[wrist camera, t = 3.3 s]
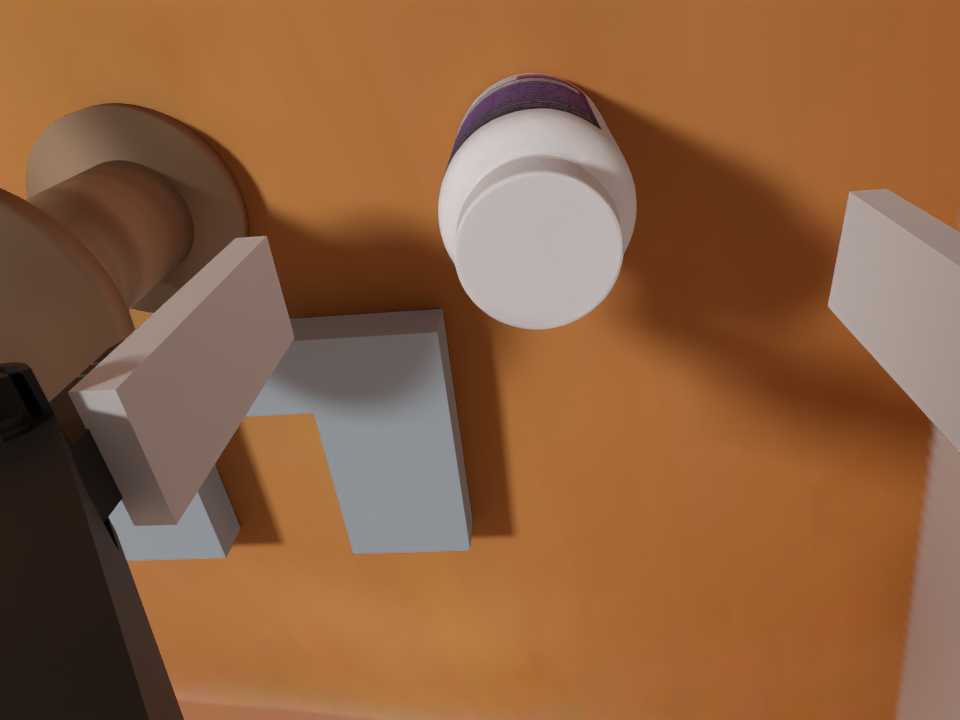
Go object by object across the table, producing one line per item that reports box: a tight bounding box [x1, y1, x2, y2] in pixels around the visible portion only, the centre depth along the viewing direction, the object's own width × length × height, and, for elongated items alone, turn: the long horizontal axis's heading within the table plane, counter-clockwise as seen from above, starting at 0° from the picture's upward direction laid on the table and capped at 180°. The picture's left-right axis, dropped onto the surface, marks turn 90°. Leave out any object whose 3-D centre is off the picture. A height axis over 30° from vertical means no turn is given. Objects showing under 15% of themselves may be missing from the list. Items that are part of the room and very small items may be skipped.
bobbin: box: [0, 103, 249, 402], centre depth 21 cm, size 8×8×10 cm
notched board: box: [109, 309, 473, 561], centre depth 30 cm, size 18×12×2 cm, turn 96°
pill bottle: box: [438, 73, 637, 329], centre depth 19 cm, size 5×5×10 cm
